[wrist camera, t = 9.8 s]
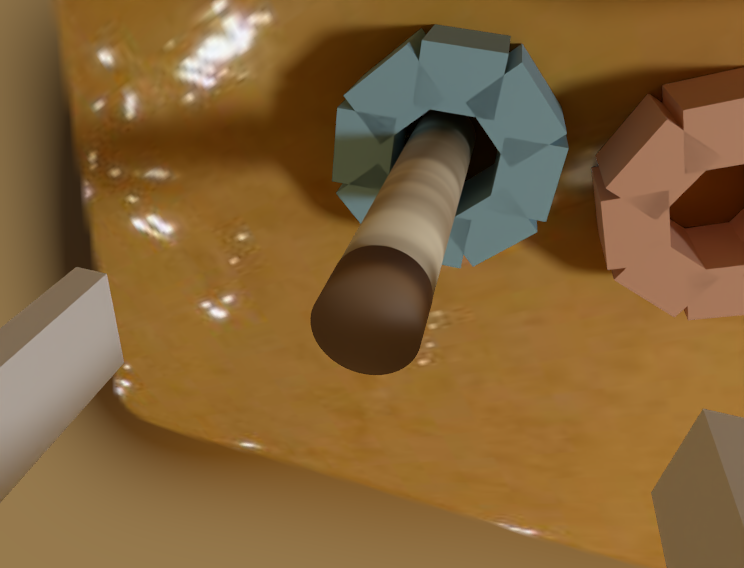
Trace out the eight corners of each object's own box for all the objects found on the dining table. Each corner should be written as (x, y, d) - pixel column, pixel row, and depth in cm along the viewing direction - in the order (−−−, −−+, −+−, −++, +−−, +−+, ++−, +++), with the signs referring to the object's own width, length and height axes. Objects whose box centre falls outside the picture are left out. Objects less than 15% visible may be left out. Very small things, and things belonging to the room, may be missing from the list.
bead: (365, 13, 26) (342, 27, 23) (584, 47, 25) (593, 67, 22) (347, 207, 32) (327, 241, 28) (527, 242, 30) (527, 282, 27)
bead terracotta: (584, 101, 26) (593, 128, 23) (843, 45, 23) (898, 66, 20) (603, 283, 31) (613, 327, 27) (822, 257, 28) (863, 303, 24)
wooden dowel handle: (419, 101, 28) (313, 271, 15) (482, 112, 27) (430, 298, 14) (410, 160, 29) (308, 359, 16) (468, 172, 29) (411, 386, 16)
